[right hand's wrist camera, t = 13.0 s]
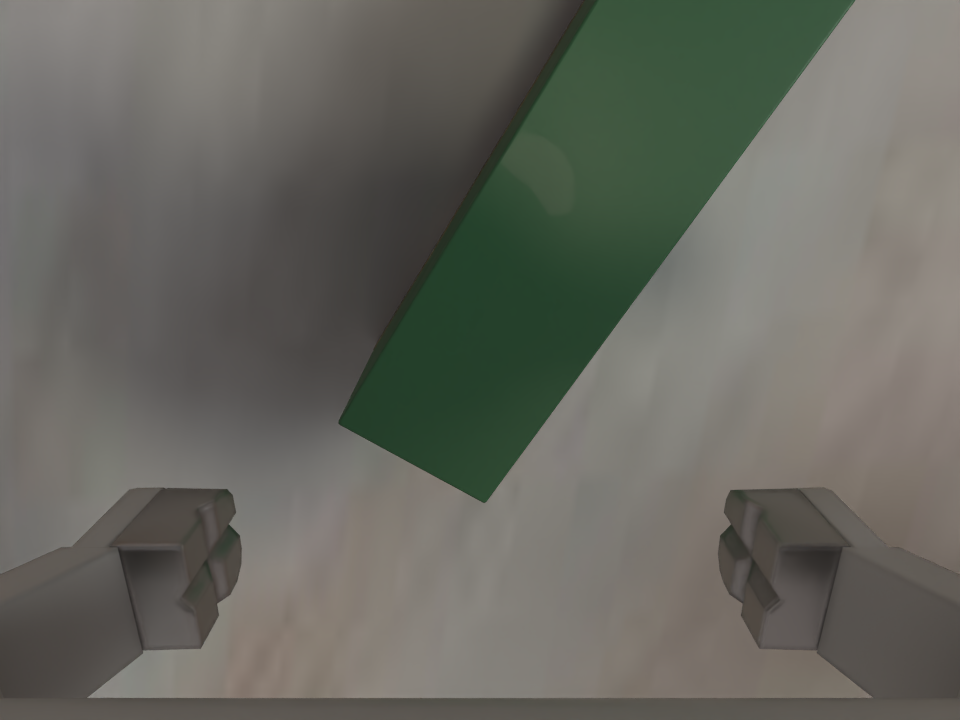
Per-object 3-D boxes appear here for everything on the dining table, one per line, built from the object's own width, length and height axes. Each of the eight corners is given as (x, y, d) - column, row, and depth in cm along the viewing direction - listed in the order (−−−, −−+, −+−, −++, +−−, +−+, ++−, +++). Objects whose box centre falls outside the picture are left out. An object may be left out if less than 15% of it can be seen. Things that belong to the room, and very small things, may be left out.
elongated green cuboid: (624, -67, 21) (701, -175, 14) (744, 28, 22) (877, -27, 15) (376, 343, 26) (336, 424, 19) (483, 405, 27) (485, 505, 20)
